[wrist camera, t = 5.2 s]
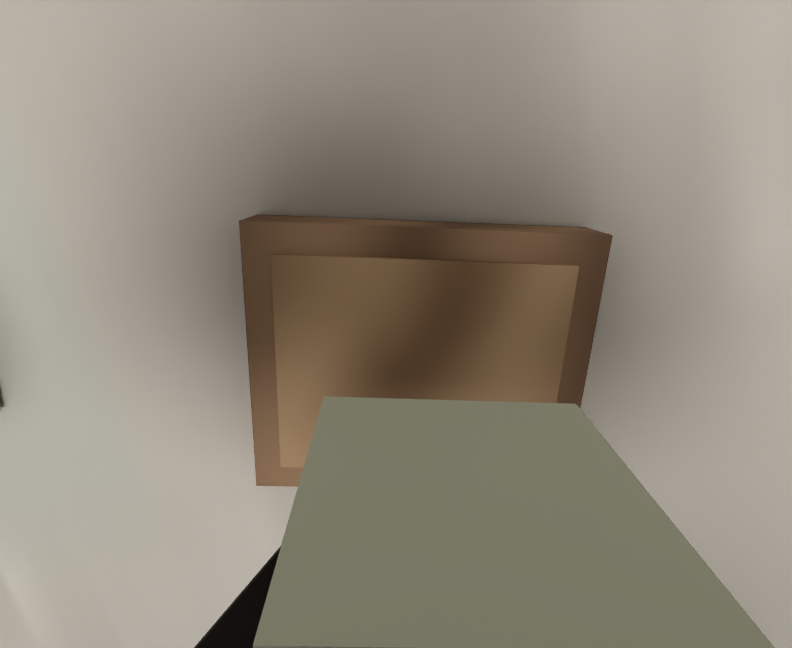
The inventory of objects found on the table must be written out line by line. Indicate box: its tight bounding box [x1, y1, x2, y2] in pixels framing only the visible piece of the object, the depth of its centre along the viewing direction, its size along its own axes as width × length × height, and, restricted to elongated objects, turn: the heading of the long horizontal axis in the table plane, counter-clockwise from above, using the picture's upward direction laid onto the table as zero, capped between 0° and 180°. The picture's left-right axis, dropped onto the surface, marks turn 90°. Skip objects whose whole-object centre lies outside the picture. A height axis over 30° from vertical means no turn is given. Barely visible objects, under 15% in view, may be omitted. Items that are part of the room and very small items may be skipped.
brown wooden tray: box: [239, 215, 612, 486], centre depth 17 cm, size 12×10×2 cm
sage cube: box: [253, 396, 774, 648], centre depth 7 cm, size 5×5×5 cm
